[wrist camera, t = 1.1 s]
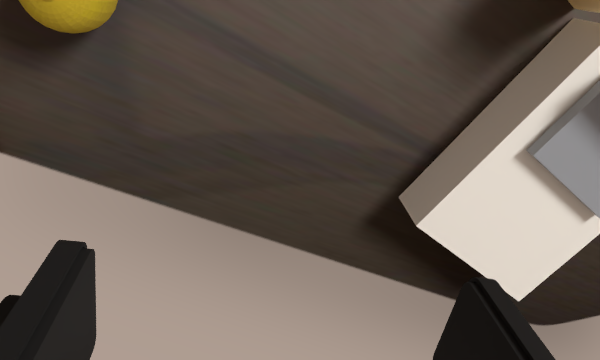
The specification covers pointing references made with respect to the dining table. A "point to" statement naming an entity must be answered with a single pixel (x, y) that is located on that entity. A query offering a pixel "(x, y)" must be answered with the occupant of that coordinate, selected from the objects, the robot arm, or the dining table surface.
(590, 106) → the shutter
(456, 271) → the dining table surface
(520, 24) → the dining table surface
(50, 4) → the lemon
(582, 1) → the plug
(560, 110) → the socket
